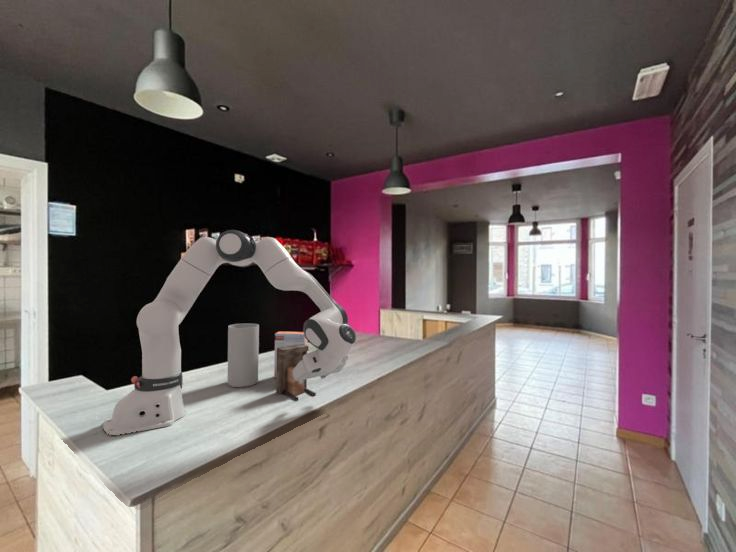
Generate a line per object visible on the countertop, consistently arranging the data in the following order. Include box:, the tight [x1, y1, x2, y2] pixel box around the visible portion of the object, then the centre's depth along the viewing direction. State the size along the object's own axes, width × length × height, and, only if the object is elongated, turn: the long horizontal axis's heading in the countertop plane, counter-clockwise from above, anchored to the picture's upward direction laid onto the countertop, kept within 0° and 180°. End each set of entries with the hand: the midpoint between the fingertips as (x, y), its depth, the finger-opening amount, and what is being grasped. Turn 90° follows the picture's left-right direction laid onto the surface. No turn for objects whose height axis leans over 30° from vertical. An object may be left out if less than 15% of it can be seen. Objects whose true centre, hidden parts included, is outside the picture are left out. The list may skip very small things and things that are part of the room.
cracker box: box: [274, 330, 309, 380], centre depth 158 cm, size 14×6×21 cm, turn 84°
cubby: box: [275, 344, 317, 401], centre depth 138 cm, size 12×13×18 cm
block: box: [287, 366, 305, 396], centre depth 139 cm, size 5×5×10 cm
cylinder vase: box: [227, 323, 260, 388], centre depth 149 cm, size 12×12×25 cm
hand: (311, 379), depth 129 cm, fingers open, 8 cm apart
